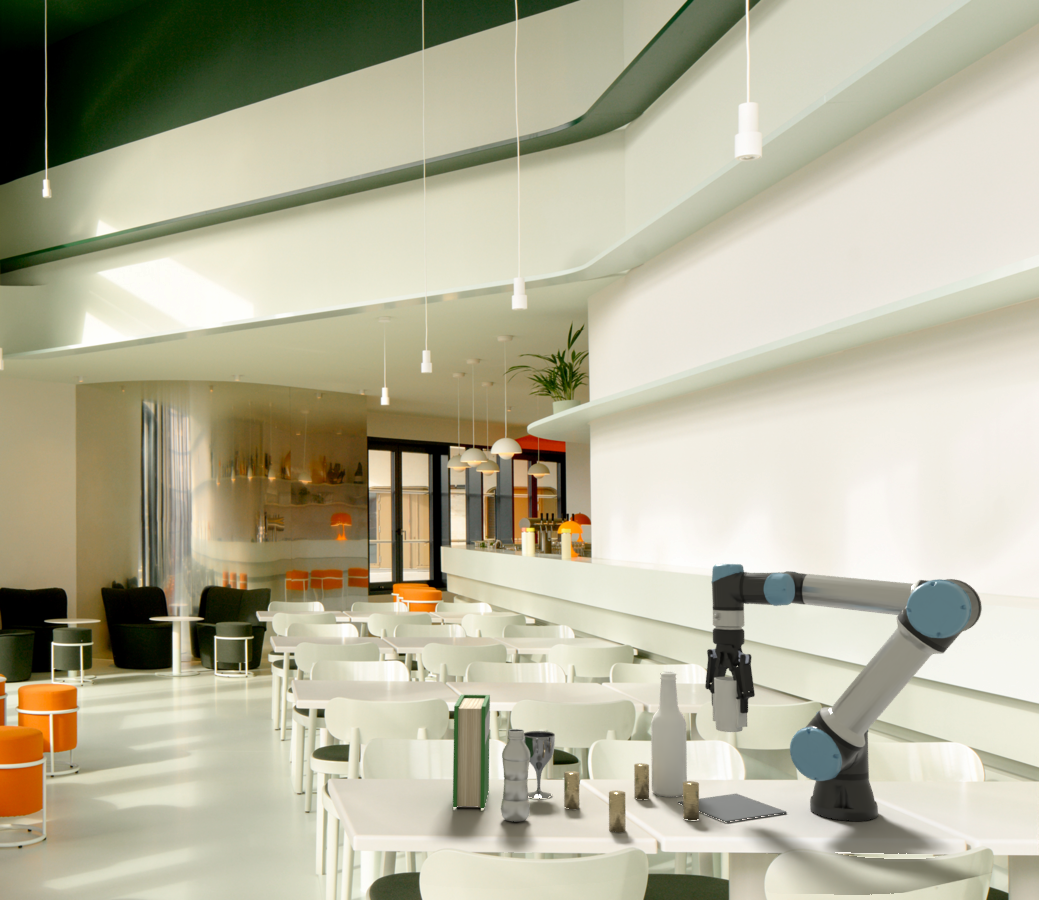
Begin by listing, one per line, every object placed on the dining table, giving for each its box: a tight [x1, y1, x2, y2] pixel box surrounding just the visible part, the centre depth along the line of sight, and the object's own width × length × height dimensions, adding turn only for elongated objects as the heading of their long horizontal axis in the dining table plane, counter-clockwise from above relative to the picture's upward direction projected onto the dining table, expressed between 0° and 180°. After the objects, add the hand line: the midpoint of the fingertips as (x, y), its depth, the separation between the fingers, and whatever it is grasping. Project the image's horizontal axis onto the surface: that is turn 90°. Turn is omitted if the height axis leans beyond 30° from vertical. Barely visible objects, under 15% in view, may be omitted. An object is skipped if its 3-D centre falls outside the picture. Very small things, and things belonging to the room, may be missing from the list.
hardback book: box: [452, 694, 491, 808], centre depth 233 cm, size 18×7×24 cm, turn 178°
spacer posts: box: [563, 762, 700, 834], centre depth 222 cm, size 24×24×8 cm
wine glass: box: [523, 730, 556, 800], centre depth 237 cm, size 8×8×15 cm
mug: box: [714, 676, 744, 733], centre depth 229 cm, size 10×7×12 cm, turn 170°
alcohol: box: [650, 671, 688, 798], centre depth 241 cm, size 9×9×30 cm
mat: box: [677, 793, 788, 822], centre depth 226 cm, size 18×18×1 cm
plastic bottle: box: [500, 728, 531, 823], centre depth 216 cm, size 6×7×20 cm
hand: (729, 723), depth 228 cm, fingers closed on mug, 8 cm apart
